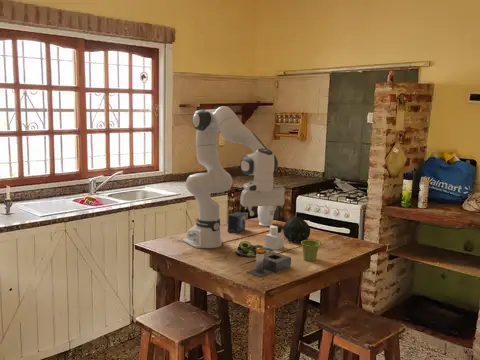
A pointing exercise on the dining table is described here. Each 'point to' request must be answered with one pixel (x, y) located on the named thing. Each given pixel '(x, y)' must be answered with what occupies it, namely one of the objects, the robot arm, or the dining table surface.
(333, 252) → the dining table surface
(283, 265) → the grey square block
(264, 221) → the jar
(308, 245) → the plant pot
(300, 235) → the squash
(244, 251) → the salad plate
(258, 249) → the cylindrical container
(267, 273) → the mat
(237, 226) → the small box
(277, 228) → the medicine bottle
